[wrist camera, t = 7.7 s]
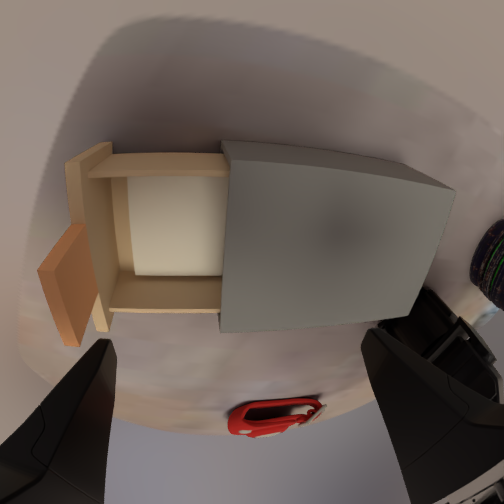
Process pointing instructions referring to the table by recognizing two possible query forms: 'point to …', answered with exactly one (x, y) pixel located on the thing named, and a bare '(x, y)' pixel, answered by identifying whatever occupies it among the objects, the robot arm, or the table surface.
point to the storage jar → (490, 265)
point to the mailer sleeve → (324, 237)
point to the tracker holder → (275, 425)
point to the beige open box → (137, 238)
